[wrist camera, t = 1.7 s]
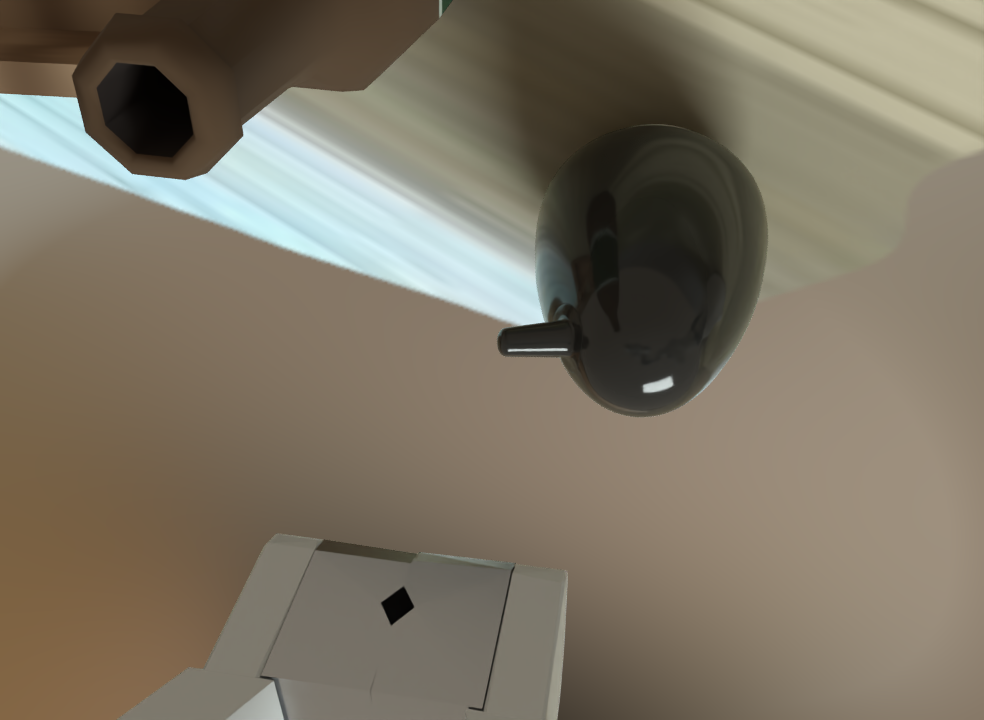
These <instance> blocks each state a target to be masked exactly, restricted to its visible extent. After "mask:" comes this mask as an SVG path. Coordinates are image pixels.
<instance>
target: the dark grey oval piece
mask: <svg viewBox="0 0 984 720" xmlns="http://www.w3.org/2000/svg"><path fill="white" fill-rule="evenodd" d="M767 248H768V225H767V216H766V210H765V205H764V201H763V198H762V195H761V192H760V190H759V188H758V186H757V183H756V182H755V180H754V178H753V176H752V175H751V173H750V172H749V171H748V169H747V168H746V167H745V165H744V164H743V163H742V162H741V161H740V160H739V159H738V158H737V157H736V156H735V155H734V154H733V153H732V152H730V151H729V150H728V149H727V148H725V147H724V146H722V145H721V144H719V143H718V142H716V141H714V140H712V139H711V138H709V137H706V136H704V135H702V134H699V133H697V132H694V131H691V130H688V129H685V128H681V127H677V126H672V125H663V124H647V125H638V126H632V127H628V128H624V129H620V130H617V131H614V132H611V133H608V134H605V135H603V136H601V137H599V138H597V139H595V140H593V141H591V142H590V143H588V144H586V145H585V146H583V147H582V148H581V149H579V150H578V151H577V152H575V153H574V154H573V155H572V156H571V157H570V158H569V159H568V160H567V161H566V162H565V163H564V164H563V165H562V166H561V168H560V169H559V170H558V172H557V173H556V174H555V176H554V178H553V179H552V181H551V183H550V185H549V186H548V189H547V191H546V193H545V196H544V198H543V201H542V205H541V208H540V212H539V216H538V221H537V228H536V240H535V273H536V284H537V291H538V297H539V302H540V306H541V310H542V314H543V318H544V321H545V323H537V324H530V325H523V326H515V327H508V328H503V329H502V330H501V331H500V332H499V334H498V338H497V345H498V350H499V352H500V353H501V355H503V356H507V357H559V358H560V360H561V362H562V363H563V365H564V367H565V369H566V370H567V372H568V374H569V375H570V377H571V378H572V379H573V381H574V382H575V383H576V384H577V385H578V387H579V388H580V389H581V390H582V391H583V392H584V393H585V394H586V395H587V396H589V397H590V398H591V399H592V400H593V401H595V402H596V403H598V404H599V405H601V406H602V407H604V408H606V409H608V410H610V411H612V412H615V413H618V414H621V415H626V416H631V417H652V416H658V415H662V414H665V413H668V412H671V411H673V410H675V409H678V408H679V407H681V406H683V405H685V404H686V403H688V402H689V401H691V400H692V399H693V398H695V397H696V396H697V395H699V394H700V393H701V392H702V391H703V390H704V389H705V388H706V387H707V386H708V385H709V384H710V383H711V382H712V381H713V380H714V378H715V377H716V376H717V375H718V374H719V372H720V371H721V369H722V368H723V367H724V366H725V364H726V363H727V362H728V360H729V359H730V357H731V356H732V354H733V353H734V351H735V349H736V348H737V346H738V344H739V342H740V341H741V339H742V337H743V335H744V333H745V331H746V329H747V327H748V325H749V322H750V320H751V318H752V315H753V313H754V310H755V307H756V304H757V301H758V298H759V294H760V290H761V286H762V281H763V276H764V270H765V264H766V257H767Z"/></svg>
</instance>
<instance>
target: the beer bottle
mask: <svg viewBox="0 0 984 720" xmlns="http://www.w3.org/2000/svg"><path fill="white" fill-rule="evenodd" d="M451 2H452V0H160V1H159V2H158V3H156V4H155V5H154V6H153V7H151V8H150V9H149V10H148V11H146V12H145V13H144V14H143V15H135V14H124V13H115V14H114V16H113V17H112V18H111V20H110V21H109V22H108V23H107V25H106V26H105V27H104V29H103V30H102V31H101V33H100V34H99V35H98V37H97V38H96V39H95V40H94V42H93V43H92V44H91V46H90V47H89V48H88V50H87V51H86V52H85V54H84V55H83V56H82V58H81V60H80V61H79V63H78V65H77V67H76V69H75V70H74V72H73V74H72V79H73V83H74V87H75V91H76V95H77V99H78V103H79V107H80V111H81V115H82V119H83V123H84V127H85V131H86V133H87V134H88V135H89V136H91V137H92V138H93V139H94V140H95V141H96V142H97V143H98V144H99V145H101V146H102V147H103V148H104V149H105V150H106V151H107V152H108V153H109V154H111V155H112V156H113V157H114V158H115V159H116V160H117V161H118V162H120V163H121V164H122V165H123V166H124V167H125V168H126V169H127V170H128V171H130V172H131V173H132V174H137V175H146V176H155V177H164V178H173V179H182V180H187V179H190V178H193V177H196V176H199V175H203V174H206V173H208V172H209V171H210V170H211V169H212V167H213V166H214V165H215V164H216V163H217V162H218V161H219V160H220V159H221V158H222V157H223V156H224V155H225V154H226V153H227V152H228V151H229V150H230V149H231V148H232V147H233V146H234V145H235V144H236V143H237V142H238V141H239V140H240V139H241V138H242V137H243V129H242V125H243V124H244V123H246V122H247V121H248V120H249V119H251V118H252V117H253V116H254V115H256V114H257V113H258V112H259V111H261V110H262V109H263V108H264V107H266V106H267V105H268V104H269V103H271V102H272V101H273V100H274V99H276V98H277V97H278V96H280V95H281V94H282V93H283V92H285V91H286V90H287V89H288V88H290V87H300V88H311V89H321V90H331V91H341V92H344V91H359V90H364V89H365V88H367V87H368V86H369V85H370V84H371V83H372V82H373V81H374V80H375V79H376V78H378V77H379V76H380V75H381V74H382V73H383V72H384V71H385V70H386V69H387V68H388V67H389V66H390V65H391V64H392V63H393V62H394V61H395V60H396V59H397V58H399V57H400V56H401V55H402V54H403V53H404V52H405V51H406V50H407V49H408V48H409V47H410V46H411V45H412V44H413V43H414V42H415V41H416V40H417V39H418V38H419V37H420V36H421V35H422V34H424V33H425V32H426V31H427V30H428V29H429V28H430V27H431V26H432V25H433V24H434V23H435V22H436V21H437V20H438V19H439V18H440V17H441V15H442V14H443V13H444V11H445V10H446V9H447V7H448V6H449V4H450V3H451Z"/></svg>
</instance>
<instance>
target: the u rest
mask: <svg viewBox="0 0 984 720" xmlns="http://www.w3.org/2000/svg"><path fill="white" fill-rule="evenodd" d="M159 1H160V0H0V93H3V94H22V95H40V96H58V97H77V95H76V91H75V87H74V83H73V79H72V74H73V72H74V70H75V69H76V67H77V65H78V63H79V61H80V60H81V58H82V56H83V55H84V54H85V52H86V51H87V50H88V48H89V47H90V46H91V44H92V43H93V42H94V40H95V39H96V38H97V37H98V35H99V34H100V33H101V31H102V30H103V29H104V27H105V26H106V25H107V23H108V22H109V21H110V20H111V18H112V17H113V16H114V14H115V13H124V14H135V15H143V14H144V13H145V12H146V11H148V10H149V9H150V8H151V7H153V6H154V5H155V4H156V3H158V2H159Z"/></svg>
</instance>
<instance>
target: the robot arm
mask: <svg viewBox="0 0 984 720" xmlns="http://www.w3.org/2000/svg"><path fill="white" fill-rule="evenodd" d="M567 582H568V575H567V571H566V570H559V569H551V568H543V567H535V566H527V565H519V564H516V563H510V562H501V561H492V560H482V559H474V558H465V557H456V556H447V555H439V554H429V553H421V552H419V553H418V554H415V553H408V552H402V551H395V550H389V549H382V548H376V547H369V546H362V545H356V544H349V543H343V542H336V541H330V540H321V539H314V538H307V537H300V536H292V535H285V534H276V535H275V536H274V537H273V538H272V539H271V540H270V541H269V542H268V543H267V544H266V545H265V546H264V548H263V550H262V552H261V554H260V556H259V558H258V560H257V562H256V564H255V566H254V568H253V570H252V572H251V574H250V576H249V578H248V580H247V582H246V584H245V586H244V588H243V590H242V592H241V594H240V596H239V598H238V600H237V602H236V604H235V606H234V608H233V610H232V612H231V614H230V616H229V618H228V620H227V622H226V624H225V626H224V628H223V630H222V632H221V634H220V636H219V638H218V640H217V642H216V644H215V646H214V648H213V650H212V652H211V654H210V656H209V658H208V660H207V662H206V664H205V666H204V668H203V669H198V668H187V669H186V670H184V671H183V672H182V673H180V674H179V675H177V676H176V677H175V678H173V679H172V680H171V681H169V682H168V683H166V684H165V685H164V686H162V687H161V688H159V689H158V690H157V691H155V692H154V693H153V694H151V695H150V696H148V697H147V698H146V699H144V700H143V701H142V702H140V703H139V704H137V705H136V706H135V707H133V708H132V709H130V710H129V711H128V712H126V713H125V714H124V715H122V716H121V717H119V718H118V719H117V720H557V715H558V708H559V700H560V690H561V678H562V665H563V653H564V640H565V621H566V602H567Z"/></svg>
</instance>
